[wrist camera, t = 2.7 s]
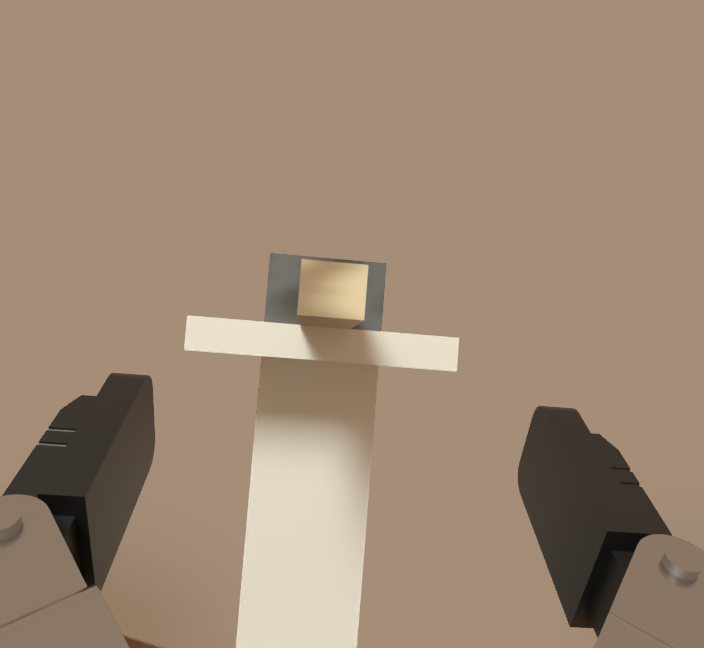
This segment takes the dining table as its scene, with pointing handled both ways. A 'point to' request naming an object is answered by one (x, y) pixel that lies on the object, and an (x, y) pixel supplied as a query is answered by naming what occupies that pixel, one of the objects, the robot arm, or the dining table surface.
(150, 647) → the dining table surface
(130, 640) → the dining table surface
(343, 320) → the grey and beige blocks
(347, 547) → the stand
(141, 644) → the dining table surface
